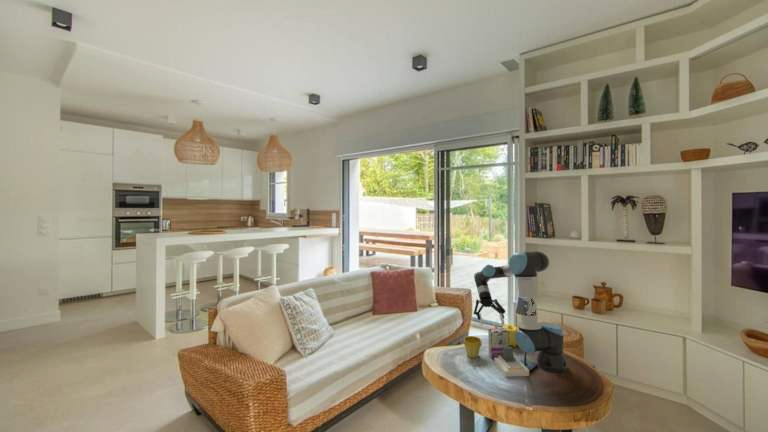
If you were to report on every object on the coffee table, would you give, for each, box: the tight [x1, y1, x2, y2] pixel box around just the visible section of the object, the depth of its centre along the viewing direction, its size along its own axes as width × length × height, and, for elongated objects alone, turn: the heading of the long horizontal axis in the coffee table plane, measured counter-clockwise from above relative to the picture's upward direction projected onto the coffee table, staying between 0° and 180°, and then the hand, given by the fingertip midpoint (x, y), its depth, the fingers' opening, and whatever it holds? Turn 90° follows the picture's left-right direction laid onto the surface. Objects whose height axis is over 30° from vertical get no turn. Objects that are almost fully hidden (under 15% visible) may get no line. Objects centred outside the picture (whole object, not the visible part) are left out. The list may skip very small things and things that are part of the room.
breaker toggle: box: [502, 346, 515, 362], centre depth 185 cm, size 6×4×7 cm, turn 92°
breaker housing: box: [494, 354, 530, 378], centre depth 181 cm, size 13×15×4 cm
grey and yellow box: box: [492, 323, 519, 348], centre depth 213 cm, size 13×20×12 cm
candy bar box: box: [487, 327, 510, 360], centre depth 196 cm, size 11×5×16 cm, turn 95°
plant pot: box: [463, 335, 482, 359], centre depth 199 cm, size 10×10×10 cm
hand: (492, 324), depth 205 cm, fingers open, 13 cm apart
